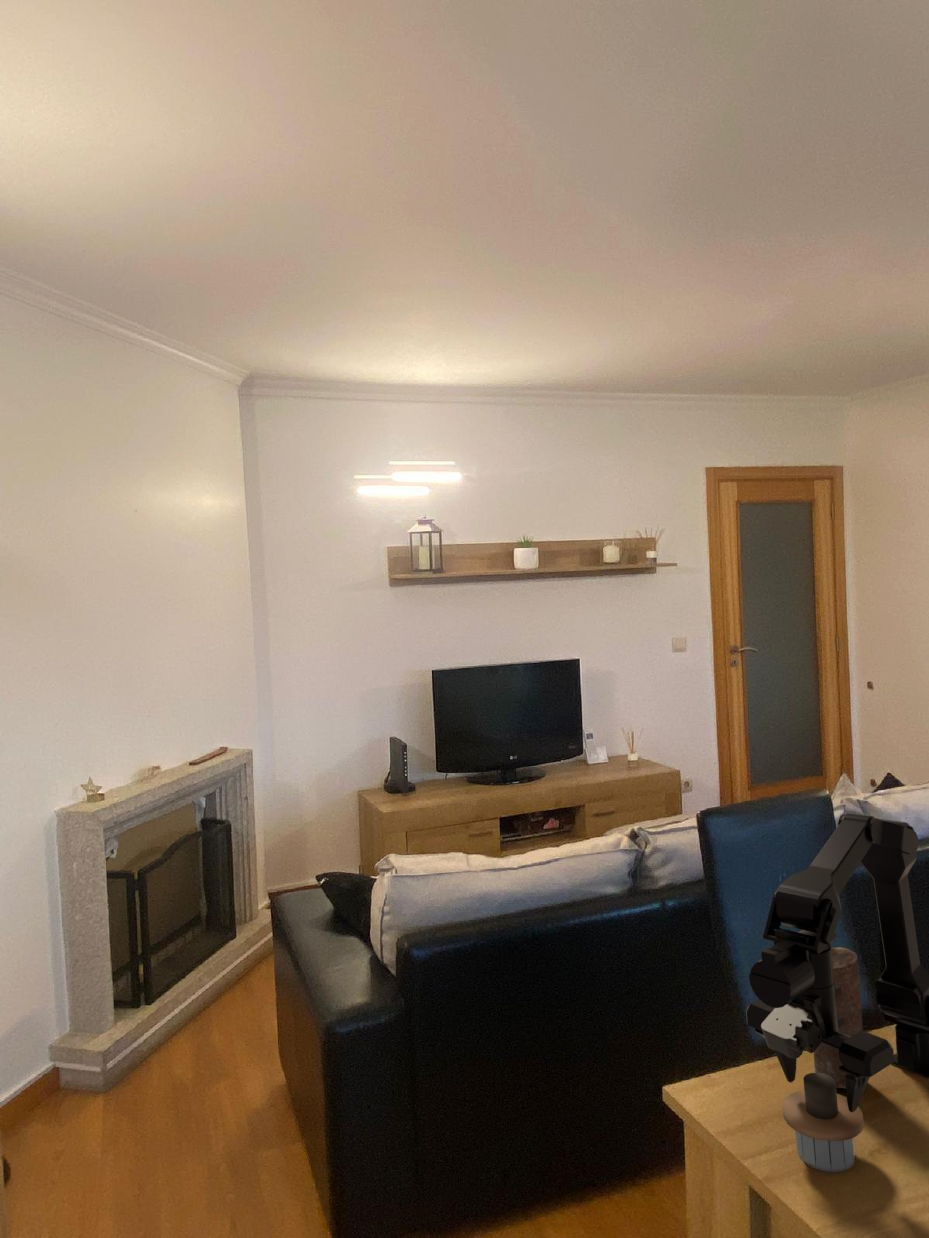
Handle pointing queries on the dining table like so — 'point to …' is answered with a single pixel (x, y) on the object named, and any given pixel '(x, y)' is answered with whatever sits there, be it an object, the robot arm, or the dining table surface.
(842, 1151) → the pot
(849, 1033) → the candle
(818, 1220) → the dining table surface
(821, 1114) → the lid
